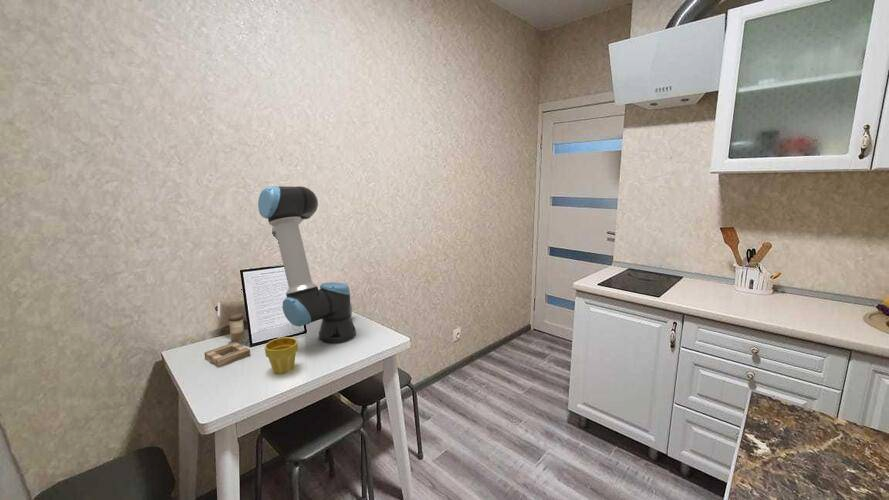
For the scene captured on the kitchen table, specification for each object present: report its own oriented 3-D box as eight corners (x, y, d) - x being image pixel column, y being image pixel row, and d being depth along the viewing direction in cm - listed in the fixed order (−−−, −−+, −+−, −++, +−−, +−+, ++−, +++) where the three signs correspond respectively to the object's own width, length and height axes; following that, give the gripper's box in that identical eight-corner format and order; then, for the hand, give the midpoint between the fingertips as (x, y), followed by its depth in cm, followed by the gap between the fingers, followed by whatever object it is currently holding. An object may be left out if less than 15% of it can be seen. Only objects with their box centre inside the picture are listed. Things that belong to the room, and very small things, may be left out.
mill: (248, 341, 146) (245, 313, 144) (234, 346, 142) (231, 317, 140) (241, 338, 149) (238, 310, 147) (228, 342, 145) (225, 314, 143)
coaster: (251, 342, 146) (251, 341, 146) (233, 348, 141) (233, 347, 141) (242, 338, 150) (242, 337, 150) (224, 344, 145) (224, 343, 145)
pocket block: (250, 355, 136) (249, 349, 135) (219, 367, 127) (218, 360, 126) (236, 347, 142) (235, 341, 141) (205, 358, 133) (204, 352, 132)
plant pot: (278, 380, 119) (276, 352, 117) (260, 371, 124) (258, 345, 122) (305, 367, 127) (303, 341, 126) (287, 359, 133) (285, 334, 131)
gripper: (268, 274, 171) (270, 314, 161) (206, 279, 160) (204, 323, 150) (267, 265, 165) (269, 306, 155) (203, 270, 155) (201, 315, 144)
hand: (237, 314), depth 152 cm, fingers open, 13 cm apart
